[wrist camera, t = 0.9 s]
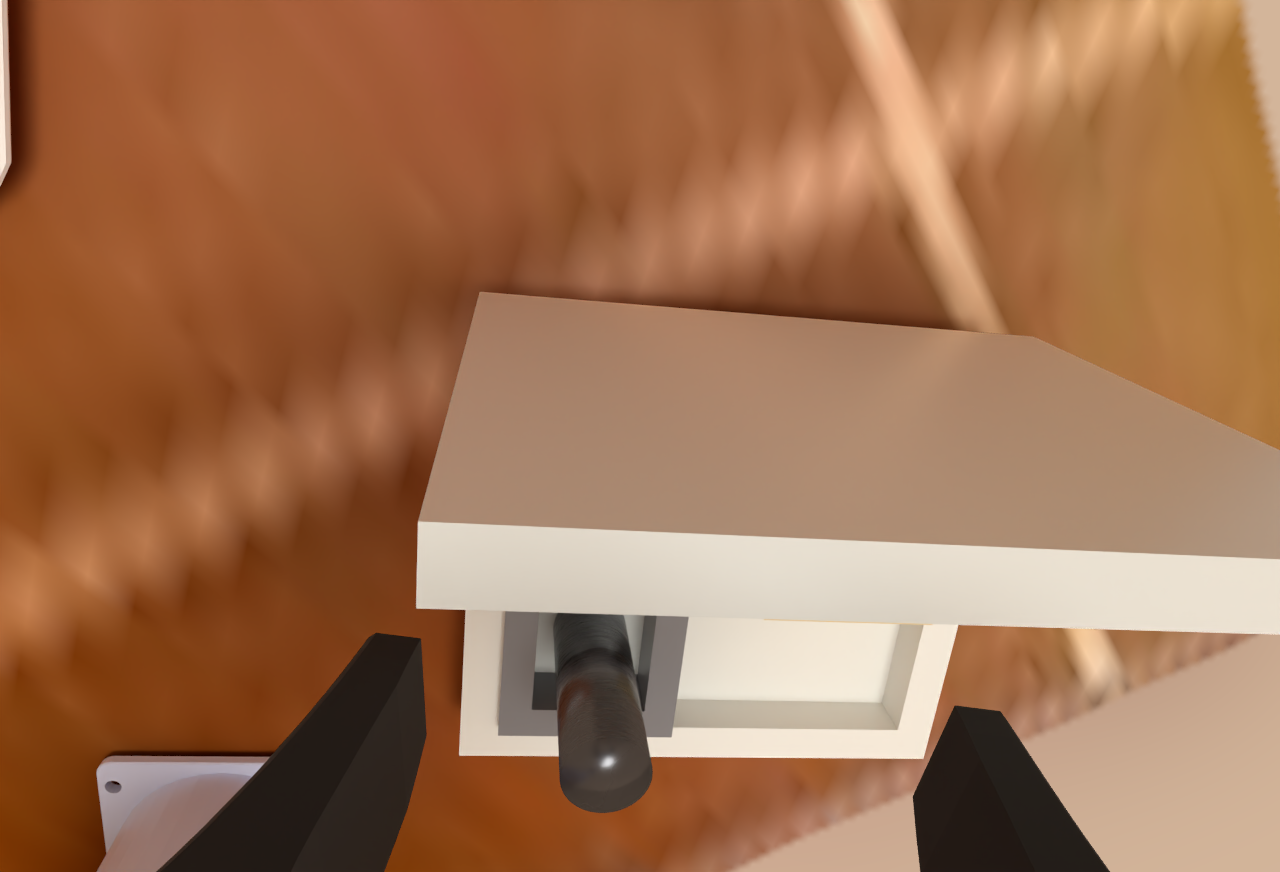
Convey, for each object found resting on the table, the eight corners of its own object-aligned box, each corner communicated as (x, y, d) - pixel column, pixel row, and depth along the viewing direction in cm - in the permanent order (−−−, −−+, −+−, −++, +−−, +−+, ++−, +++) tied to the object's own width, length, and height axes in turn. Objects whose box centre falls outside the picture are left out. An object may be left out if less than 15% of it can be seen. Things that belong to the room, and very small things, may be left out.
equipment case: (895, 713, 33) (1206, 1230, 18) (464, 706, 31) (400, 1293, 16) (992, 317, 28) (1539, 570, 13) (484, 274, 26) (418, 521, 11)
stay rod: (621, 658, 30) (647, 812, 23) (550, 657, 30) (556, 812, 23) (629, 596, 29) (657, 738, 23) (556, 594, 29) (563, 737, 22)
